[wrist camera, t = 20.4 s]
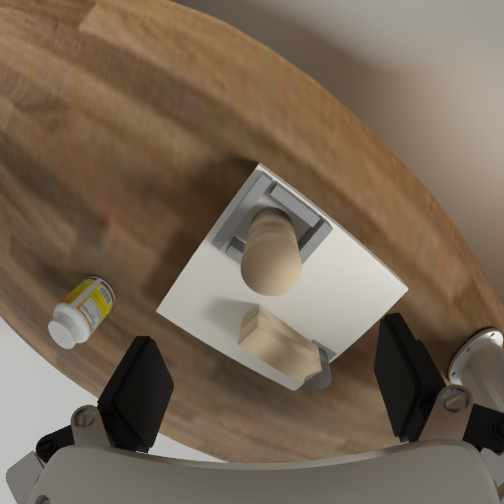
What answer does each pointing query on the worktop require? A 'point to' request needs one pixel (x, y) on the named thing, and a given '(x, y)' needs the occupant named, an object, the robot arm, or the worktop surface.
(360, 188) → the worktop surface
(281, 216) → the loose leg
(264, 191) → the white board with frame
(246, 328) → the beige angular block
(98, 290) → the supplement bottle
